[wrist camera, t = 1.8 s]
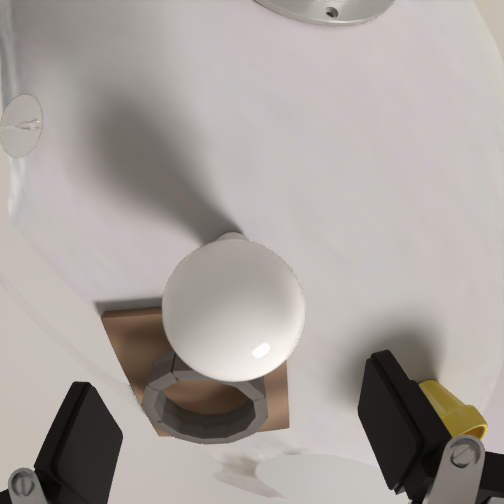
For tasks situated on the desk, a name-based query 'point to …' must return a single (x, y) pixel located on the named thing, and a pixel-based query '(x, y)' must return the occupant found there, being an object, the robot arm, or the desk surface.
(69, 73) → the desk surface
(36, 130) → the wineglass
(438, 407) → the plant pot
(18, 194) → the desk surface
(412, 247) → the desk surface
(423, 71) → the desk surface
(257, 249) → the lightbulb
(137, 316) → the bulb holder
